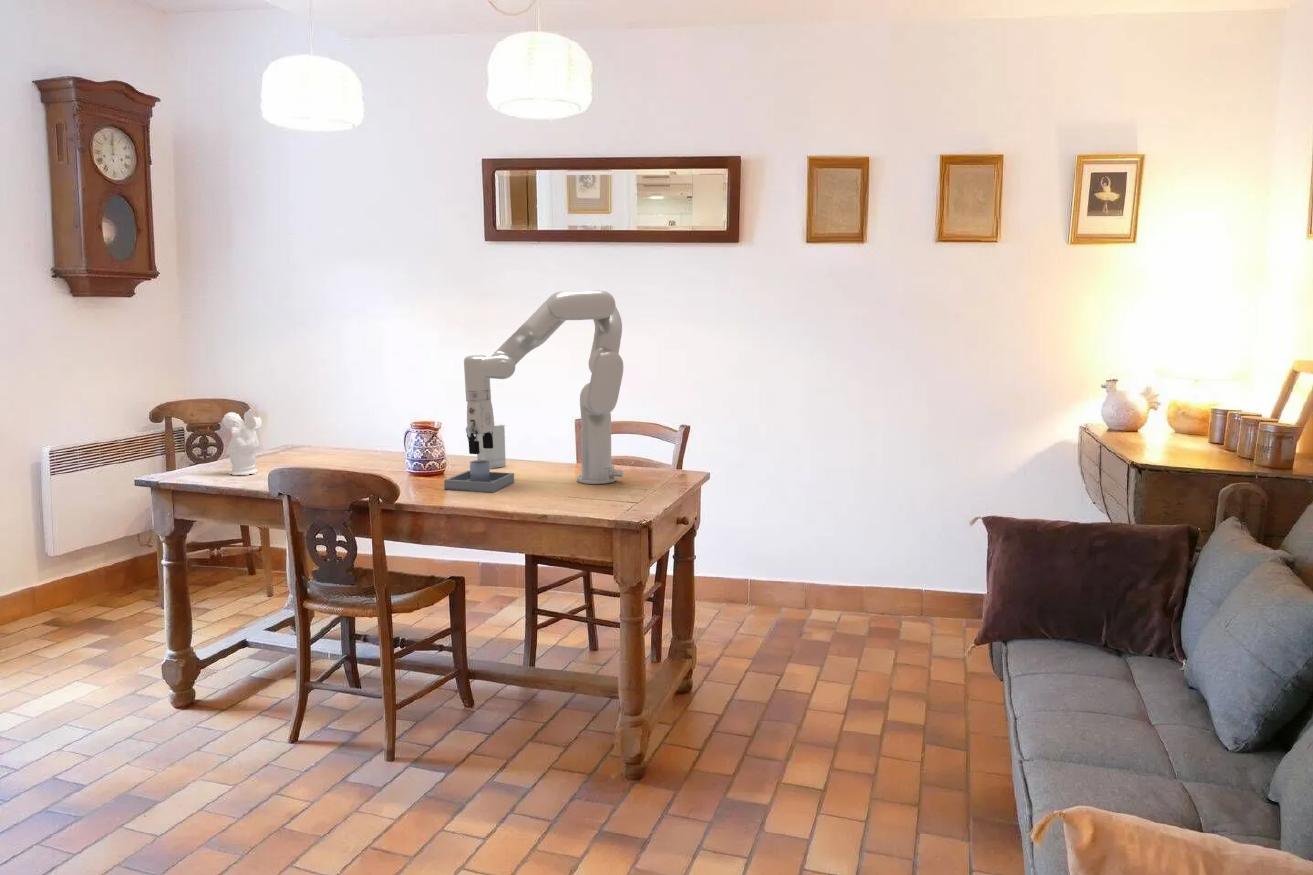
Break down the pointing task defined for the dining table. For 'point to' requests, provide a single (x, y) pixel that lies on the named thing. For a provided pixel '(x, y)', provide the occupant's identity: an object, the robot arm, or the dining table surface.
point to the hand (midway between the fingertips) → (481, 451)
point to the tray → (464, 483)
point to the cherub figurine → (242, 442)
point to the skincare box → (494, 448)
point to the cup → (480, 470)
